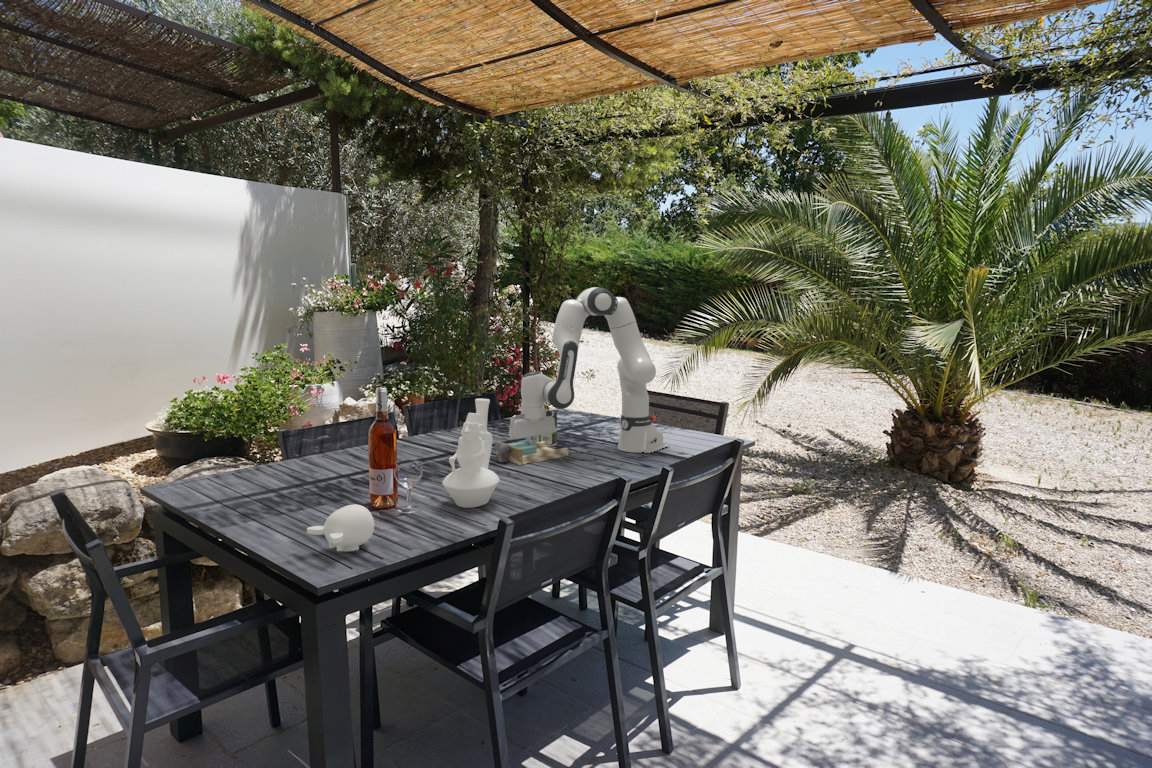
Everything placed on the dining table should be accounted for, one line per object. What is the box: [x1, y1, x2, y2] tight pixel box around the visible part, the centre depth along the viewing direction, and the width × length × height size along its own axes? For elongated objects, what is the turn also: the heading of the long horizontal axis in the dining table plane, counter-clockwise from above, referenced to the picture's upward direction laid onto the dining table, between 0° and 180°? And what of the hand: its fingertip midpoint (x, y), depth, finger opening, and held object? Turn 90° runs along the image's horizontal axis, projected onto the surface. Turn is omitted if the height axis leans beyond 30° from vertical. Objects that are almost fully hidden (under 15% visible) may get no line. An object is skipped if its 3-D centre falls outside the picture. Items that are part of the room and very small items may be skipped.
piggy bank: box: [306, 504, 375, 552], centre depth 186 cm, size 12×12×15 cm
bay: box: [494, 441, 569, 466], centre depth 282 cm, size 29×16×7 cm, turn 129°
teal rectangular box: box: [507, 441, 537, 456], centre depth 281 cm, size 8×10×4 cm
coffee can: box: [537, 409, 558, 448], centre depth 305 cm, size 10×10×14 cm
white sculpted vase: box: [441, 397, 500, 509], centre depth 224 cm, size 18×22×32 cm
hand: (532, 447), depth 284 cm, fingers closed
